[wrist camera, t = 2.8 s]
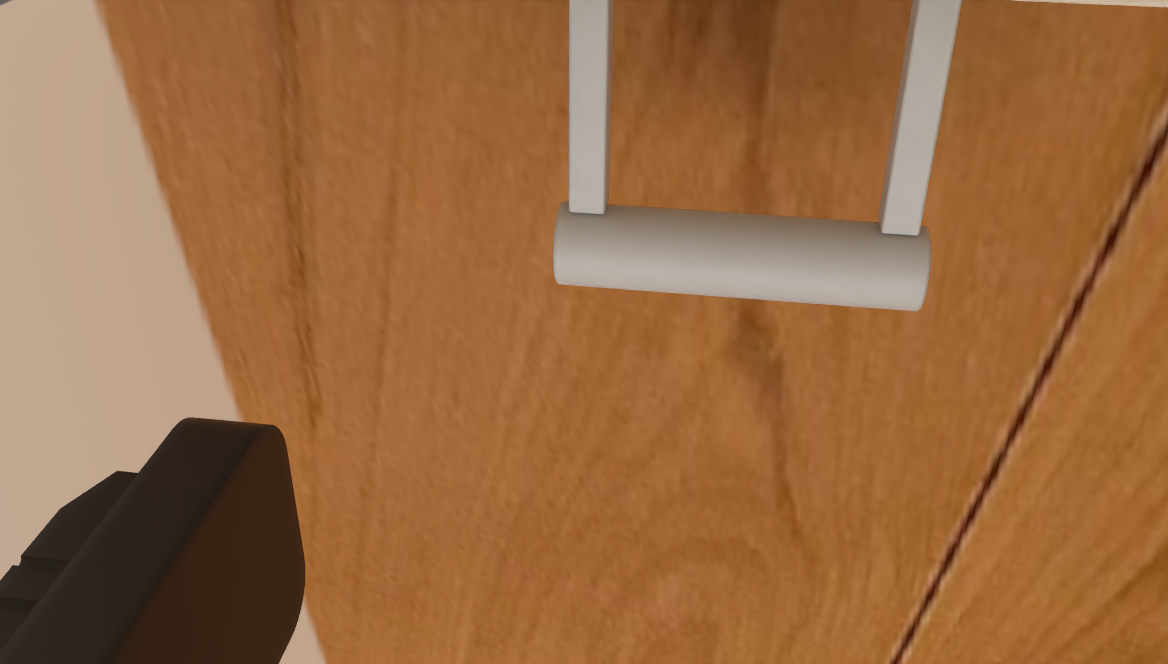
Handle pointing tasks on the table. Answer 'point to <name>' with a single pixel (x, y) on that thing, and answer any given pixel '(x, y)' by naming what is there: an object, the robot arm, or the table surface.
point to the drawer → (753, 241)
